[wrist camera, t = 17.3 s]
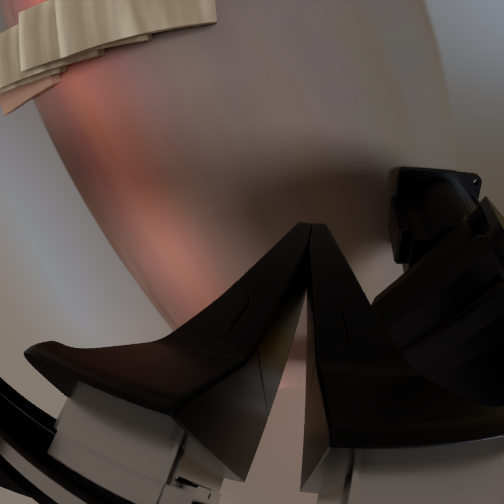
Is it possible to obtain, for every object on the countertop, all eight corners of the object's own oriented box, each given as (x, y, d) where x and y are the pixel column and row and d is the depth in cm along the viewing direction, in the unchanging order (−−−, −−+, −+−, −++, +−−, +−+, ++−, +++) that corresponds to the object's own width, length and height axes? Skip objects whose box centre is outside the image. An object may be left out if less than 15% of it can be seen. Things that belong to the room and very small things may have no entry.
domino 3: (41, 36, 15) (-6, 77, 18) (52, 84, 19) (4, 115, 21) (53, 34, 17) (4, 73, 20) (64, 79, 20) (14, 110, 23)
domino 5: (211, -47, 11) (54, -7, 10) (216, 21, 14) (60, 58, 13) (211, -41, 12) (64, -5, 11) (216, 23, 15) (70, 56, 14)
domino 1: (97, -5, 13) (-8, 37, 12) (98, 55, 16) (-4, 89, 15) (103, -2, 14) (2, 36, 13) (104, 55, 17) (5, 86, 16)
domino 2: (58, 17, 14) (-27, 56, 13) (59, 72, 17) (-23, 103, 16) (65, 18, 15) (-17, 54, 14) (67, 70, 18) (-14, 99, 17)
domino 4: (148, -26, 12) (18, 12, 10) (147, 39, 15) (20, 71, 14) (152, -21, 13) (29, 13, 12) (151, 40, 16) (31, 68, 15)
